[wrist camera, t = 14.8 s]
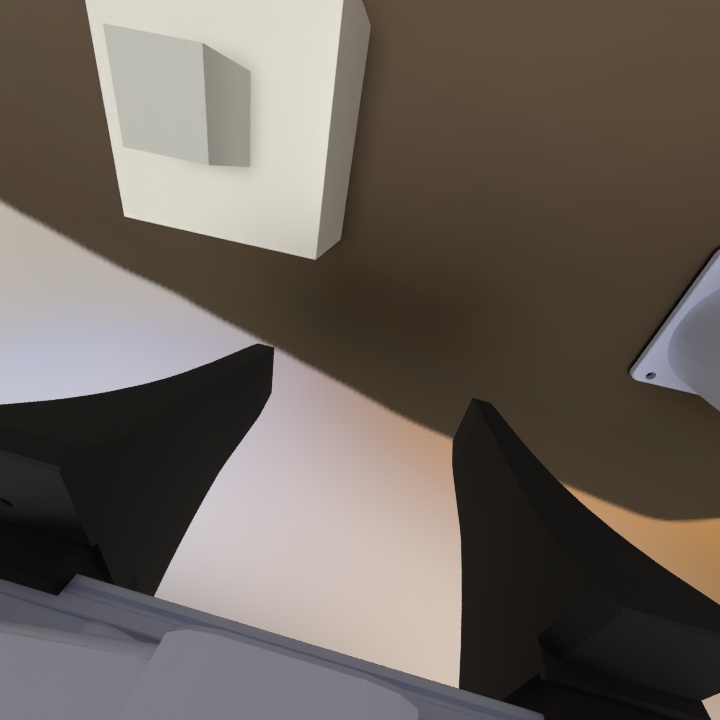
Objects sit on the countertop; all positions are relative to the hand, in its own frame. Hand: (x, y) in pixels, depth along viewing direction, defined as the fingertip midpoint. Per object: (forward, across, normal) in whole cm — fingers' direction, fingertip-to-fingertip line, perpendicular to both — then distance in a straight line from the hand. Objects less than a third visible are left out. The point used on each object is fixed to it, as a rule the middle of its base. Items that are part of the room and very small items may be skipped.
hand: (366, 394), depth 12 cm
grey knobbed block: (+10, +8, -7) cm, 15 cm away
